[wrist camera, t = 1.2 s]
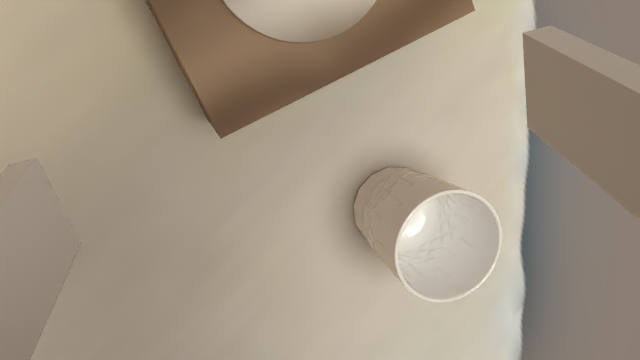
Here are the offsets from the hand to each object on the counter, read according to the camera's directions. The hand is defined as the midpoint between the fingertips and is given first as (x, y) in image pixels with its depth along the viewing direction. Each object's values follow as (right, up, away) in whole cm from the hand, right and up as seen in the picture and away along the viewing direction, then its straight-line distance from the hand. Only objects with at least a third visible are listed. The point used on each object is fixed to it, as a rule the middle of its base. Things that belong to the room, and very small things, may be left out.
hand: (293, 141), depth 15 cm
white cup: (+7, -3, +32) cm, 33 cm away
